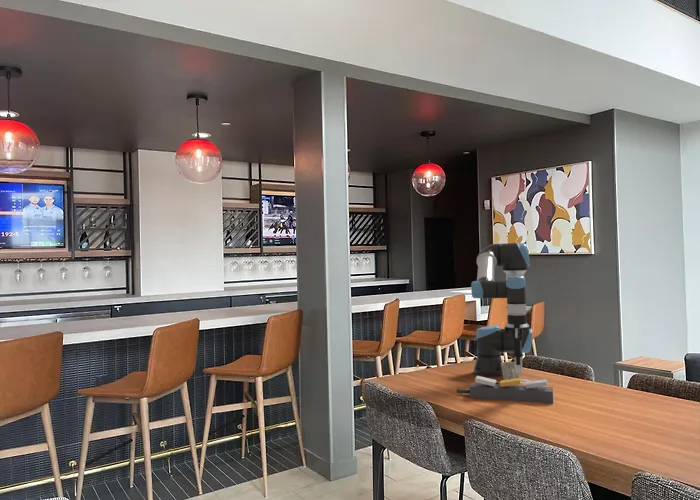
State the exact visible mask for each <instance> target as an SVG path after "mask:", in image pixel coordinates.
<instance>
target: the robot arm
mask: <svg viewBox="0 0 700 500" xmlns="http://www.w3.org/2000/svg"><path fill="white" fill-rule="evenodd" d="M528 249H529V248H528V245H527V244H526V243H523V242H511V243H509V242H508V243H492V244H489V245H487V246H486V247H484V248H483V249H481V251H479V253H478V255H477V256H476V265H477V276H476V280H474V281H472V282H471V285H470V288H471V297H472V298H473V299H479V300H482V299H506V305H505V309H506V314H507V315H506V317H507V318H506V320H507V322H506V323H505V324H504V328H501V326H500V325H490V326H489V325H488V326H482V327H479V328H477V329H476V337H475V339H476V360H475V364H474V367H473V373H474V374H475V375H476V376H482V377H499V376H503V373H502V367H501V363H502V362H503V360H502V353H506V354H507V353H513V354H512V357H514V362H515V373H520V374H522V373H523V356H524V354H528V353H529V352H531V348H532V342H533V329H532V328H530V325H529V323H528V321H527V319H528V318H527V292H526V291H527V288H526V285H527V284H526V278H525V273H527V271H528V267H531V259H530V255H529V250H528ZM495 268H502V271H503V272H504V273H505V278H506V279H505V280H495Z"/></svg>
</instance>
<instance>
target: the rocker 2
mask: <svg viewBox="0 0 700 500" xmlns="http://www.w3.org/2000/svg"><path fill="white" fill-rule="evenodd" d="M499 384H500V387H505V386H512V385H521V384H522V378H521V377H519V378H515V379H508V380H503V379H502V380H500V381H499Z"/></svg>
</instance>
